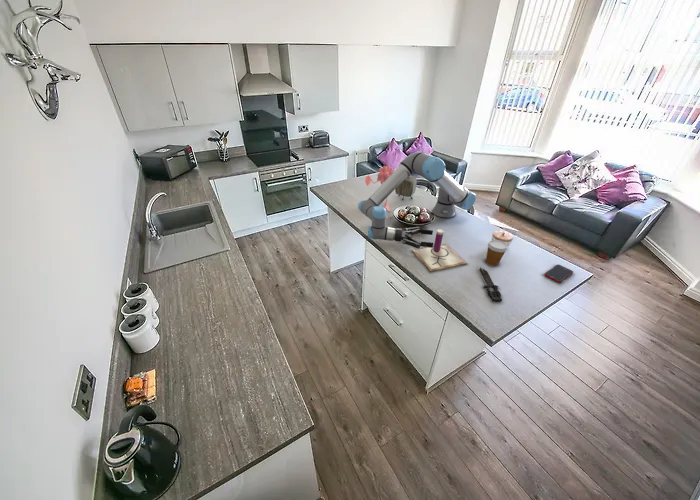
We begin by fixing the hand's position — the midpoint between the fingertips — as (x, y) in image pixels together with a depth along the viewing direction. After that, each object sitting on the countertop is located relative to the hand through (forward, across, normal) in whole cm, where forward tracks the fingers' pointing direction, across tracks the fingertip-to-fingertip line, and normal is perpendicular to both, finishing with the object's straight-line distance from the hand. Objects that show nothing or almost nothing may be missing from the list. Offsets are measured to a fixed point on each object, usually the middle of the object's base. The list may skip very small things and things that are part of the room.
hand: (432, 238), depth 161 cm
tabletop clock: (-20, -71, -9) cm, 74 cm away
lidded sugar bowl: (+40, -14, -9) cm, 43 cm away
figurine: (-32, -40, -9) cm, 52 cm away
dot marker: (+3, 0, -8) cm, 8 cm away
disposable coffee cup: (+32, +4, -9) cm, 34 cm away
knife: (+27, +24, -9) cm, 37 cm away
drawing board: (+4, +6, -8) cm, 11 cm away
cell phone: (+64, +8, -8) cm, 65 cm away
